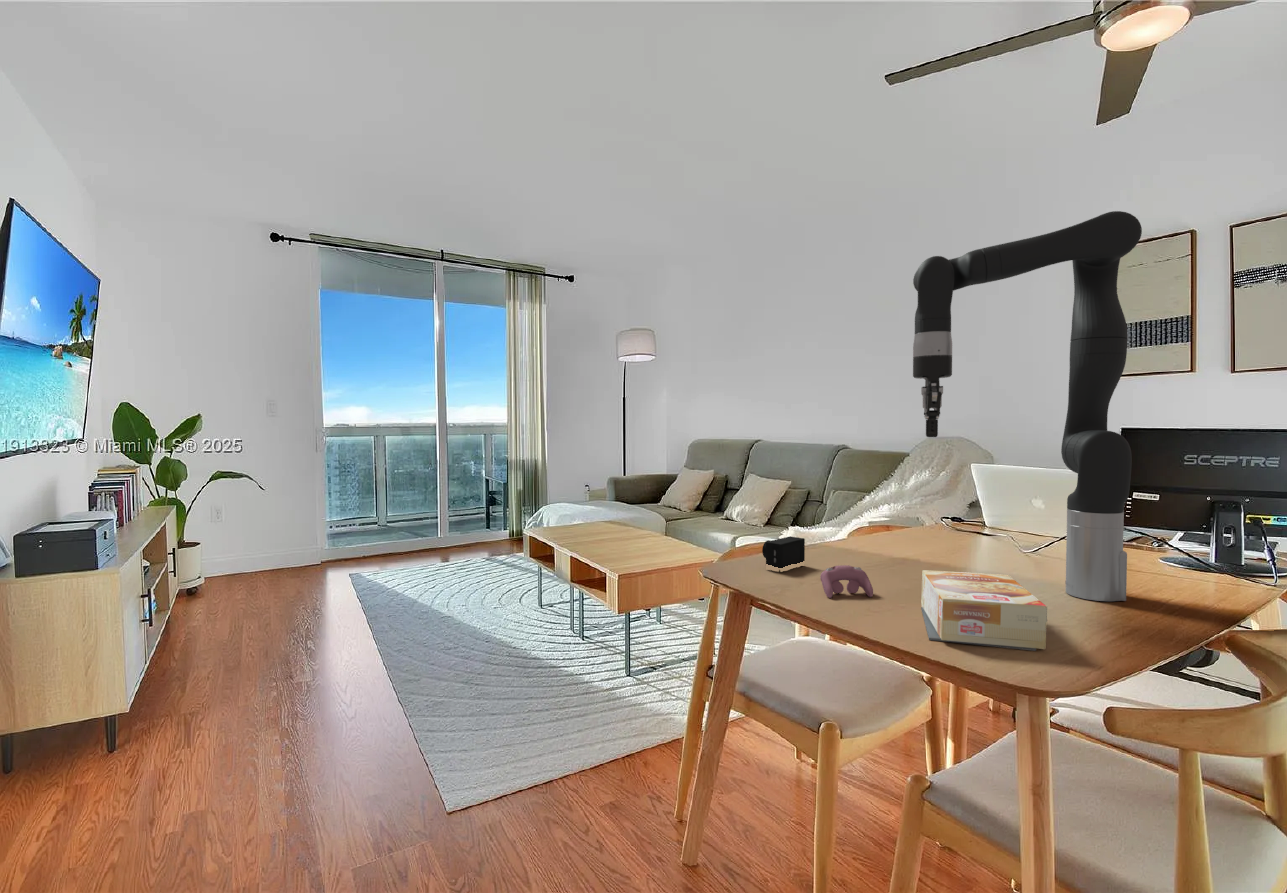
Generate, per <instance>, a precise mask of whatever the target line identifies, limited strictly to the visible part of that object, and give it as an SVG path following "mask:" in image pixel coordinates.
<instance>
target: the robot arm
mask: <svg viewBox="0 0 1287 893" xmlns="http://www.w3.org/2000/svg"><path fill="white" fill-rule="evenodd" d="M1142 230H1143V229H1142V225H1141V222H1140V221H1139V219H1138V218H1137V217H1136V216H1135V215H1134V214H1132V213H1129V212H1127V211H1122V210H1121V211H1120V210H1119V211H1118V210H1115V211H1109V212H1105V213H1102V214H1100V215H1097V216H1096V217H1092V218H1091V219H1086V220H1084V221H1082V222H1080V223H1076V224H1074V225H1072V226H1068V227H1065V228H1062V229H1059V230H1055V231H1052V232H1047V233H1045V234H1041V235H1037V236H1033V237H1032V236H1031V237H1028V238H1022V239H1018V240H1014V241H1010V242H1004V243H1000V244H996V245H992V246H987V247H983V248H978V249H975V250H974V249H973V250H972V251H969V252H967V253H964V254H963V255H962V256H961V255H960V256H959V257H955V258H950V259H948V258H946V257H945V256H941V255H933V256H931V257H928V258H926V259H925V260H923V262H921V263H920V265H919V267H918V268H917V270H916V271H915V273H914V276H913V279H912V280H913V283H912V284H913V287H914V289H915V290H916V291H917V307H916V310H915V314H914V336H913V344H912V345H913V346H912V377H913V378H914V379H919V380H920V379H924V380H925V381H924V386H921V394H920V395H921V396H922V408H923V409H924V410H923V415H924V416H923V417H924V419H925V437H926V438H937V437H938V436H939V432H938V431H939V430H938V429H939V420H940V416H941V408H942V398H943V397H942V396H943V394H944V385H941V384H940V379H945V378H950V377H952V375H953V338H952V301H953V294H954V292H955V291H957V290H960V289H963V288H966V287H970V286H973V285H974V286H975V285H981V284H986V283H987V284H988V283H991V282H996V281H1000V280H1001V281H1002V280H1005V279H1009V278H1012V277H1013V278H1014V277H1016V276H1020V275H1022V274H1026V273H1029V272H1032V271H1036V270H1039V269H1042V268H1045V267H1049V266H1051V265H1056V264H1060V263H1065V262H1069V261H1071V262H1072V271H1073V282H1074V283H1073V285H1074V287H1073V288H1074V289H1073V290H1074V295H1073V296H1074V297H1073V306H1072V315H1071V316H1072V318H1071V333H1070V342H1069V343H1070V344H1069V373H1068V374H1069V376H1068V377H1069V379H1068V397H1067V398H1068V399H1067V400H1068V401H1067V402H1068V403H1067V413H1066V418H1065V424H1064V430H1063V436H1062V441H1061V442H1062V443H1061V459H1062V462H1063V463H1064V465H1065V466H1066V467H1067V469H1069V470H1070V471H1072V472H1073V473H1076V474H1077V481H1076V488H1075V489H1074V491H1073V492H1071V493H1070V494H1069V495H1068V496H1067V499H1066V540H1065V541H1066V542H1065V543H1066V546H1065V548H1066V551H1065V593H1066V594H1068V595H1070V596H1072V597H1076V598H1079V599H1084V600H1088V601H1089V600H1090V601H1096V602H1097V601H1098V602H1099V601H1100V602H1120V601H1123V602H1126V601H1127V582H1128V581H1127V577H1128V576H1127V575H1128V572H1127V571H1128V553H1127V552H1126V551H1125V550H1124V530H1125V528H1124V526H1125V525H1124V520H1125V518H1124V517H1125V504H1126V502H1127V500H1128V498H1129V496H1130V490H1131V489H1130V488H1131V476H1132V467H1133V466H1132V465H1133V462H1132V461H1133V460H1132V459H1133V458H1132V456H1133V455H1132V450H1131V447H1130V444H1129V442H1128V441H1127V439H1126V438H1125V437H1124V435H1121V434H1120V433H1118V432H1115V431H1112V430H1108V414H1109V413H1108V412H1109V406H1110V402H1111V399H1112V396H1113V394H1114V392H1115V389H1116V388H1117V386H1118V384H1119V382H1120V380H1121V377H1122V375H1123V372H1124V371H1125V370H1124V369H1125V366H1126V361H1127V354H1128V352H1127V351H1128V337H1129V336H1128V334H1129V333H1128V326H1127V321H1126V317H1125V314H1124V312H1123V308H1122V306H1121V303H1120V300H1119V296H1118V277H1119V274H1118V273H1119V269H1120V268H1119V267H1120V261H1121V258H1123V257H1125V256H1126V255H1128V253H1130V252H1132V250H1133V249H1134V248H1135V247H1136V246H1137V244H1138V243H1139V242H1140V240H1141V237H1142V233H1143V231H1142ZM930 409H931V410H930ZM932 409H933V410H932Z"/></svg>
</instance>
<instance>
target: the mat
mask: <svg viewBox="0 0 1287 893" xmlns="http://www.w3.org/2000/svg"><path fill="white" fill-rule="evenodd" d="M920 610H921V613H922V617H923V622H924V625H925V629H926V633H927V637H928V640H929V641H933V642H934V641H936V642H943V643H954V644H955V643H956V644H963V645H964V644H965V645H974V646H983V647H984V646H985V647H991V648H992V647H994V648H995V647H996V648H1003V649H1011V650H1012V649H1013V650H1014V649H1015V650H1022V651H1023V650H1024V651H1030V652H1031V651H1034V652H1037V648H1025V647H1014V646H1002V645H991V644H979V643H968V642H957V641H946V640H941V638H940V636H939V635H938V633H937V631H936V629H935V628H934V626H933V624H932V622H931V621H930V619H929V617H928V615H927V614H926V612H925V610H924V609H923V607H922V606H921V608H920Z"/></svg>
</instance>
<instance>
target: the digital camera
mask: <svg viewBox="0 0 1287 893" xmlns="http://www.w3.org/2000/svg"><path fill="white" fill-rule="evenodd" d="M805 540H806V539H805V538H803V537H797V536H787V537H783V538H777V539H774V540H765V542H764V543H763V545H762V549H761V550H762V555H763V558H765V565H766V564H768V565H772V566H774V567H778V568H783V567H785V566H788V565H791V564H797V563H800V562H803V561H805V559H806V558H805V557H806V556H805V554H806V553H805V552H806V551H805V550H806V549H805V548H806V546H805V545H806V544H805V542H806V541H805ZM805 562H806V561H805Z"/></svg>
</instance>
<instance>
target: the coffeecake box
mask: <svg viewBox="0 0 1287 893" xmlns="http://www.w3.org/2000/svg"><path fill="white" fill-rule="evenodd" d="M921 572H922V573H921V574H922V575H921V578H922V579H921V595H920V601H921V602H920V605H921V607H923V609H924V610H925V612H926V614H927V615H928V617H929V619H930V621H931V622H932V624H933V626H934V628H935V629H936V631H937V633H938V635H939V636H940V638H941V640H946V641H957V642H968V643H979V644H991V645H1002V646H1014V647H1025V648H1036V650H1037V649H1040V650H1046V646H1047V644H1046V643H1047V622H1048V606H1047V605H1046V604H1045V603H1043V602H1042V601H1041V600H1040V599H1038V598H1037V597H1036V596H1035V595H1033V594H1032V593H1031V592H1030V591H1029V590H1027V589H1026V588H1025V587H1024V586H1023V585H1021V584H1020V583H1019V582H1017V580H1016V579H1014V578H1012V576H1011V575H1010V574H1000V573H999V574H997V573H983V572H982V573H981V572H968V571H967V572H965V571H964V572H962V571H947V570H946V571H944V570H928V569H927V570H925V569H923V570H921Z"/></svg>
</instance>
